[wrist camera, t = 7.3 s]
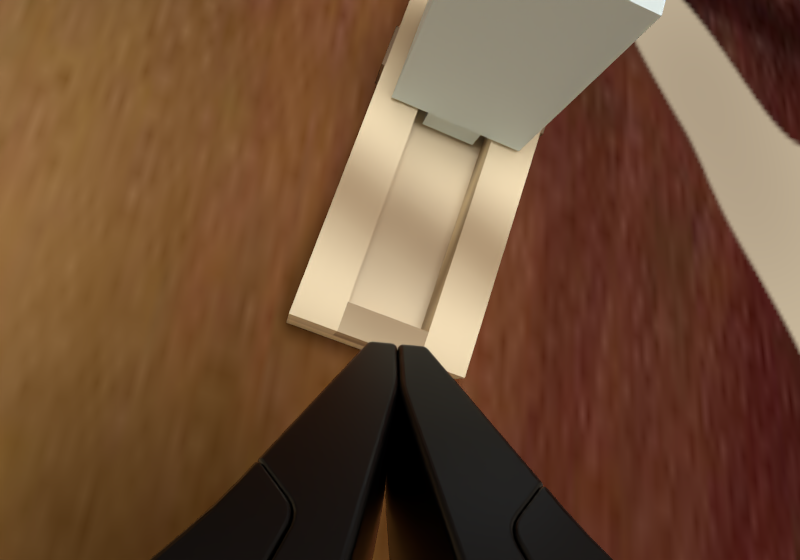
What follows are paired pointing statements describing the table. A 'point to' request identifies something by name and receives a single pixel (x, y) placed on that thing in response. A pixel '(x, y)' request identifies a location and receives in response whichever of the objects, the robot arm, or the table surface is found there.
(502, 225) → the beam
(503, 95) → the block
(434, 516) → the robot arm
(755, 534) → the table surface
